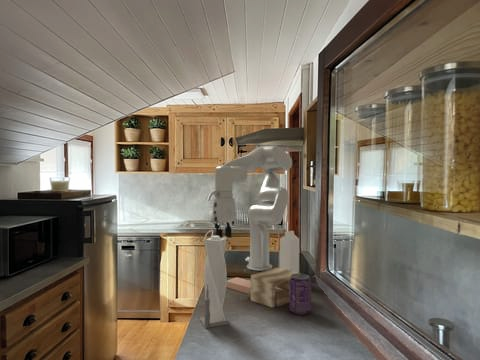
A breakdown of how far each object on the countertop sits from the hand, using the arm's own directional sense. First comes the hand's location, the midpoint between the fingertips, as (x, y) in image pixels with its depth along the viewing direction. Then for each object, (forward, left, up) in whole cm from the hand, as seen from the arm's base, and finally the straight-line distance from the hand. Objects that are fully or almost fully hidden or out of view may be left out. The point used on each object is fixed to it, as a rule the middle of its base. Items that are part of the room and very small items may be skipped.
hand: (223, 237), depth 147 cm
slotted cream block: (+28, 0, -19) cm, 34 cm away
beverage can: (+42, -4, -20) cm, 47 cm away
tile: (+13, 0, -20) cm, 24 cm away
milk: (+20, +20, -20) cm, 34 cm away
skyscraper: (+27, -29, -20) cm, 44 cm away
